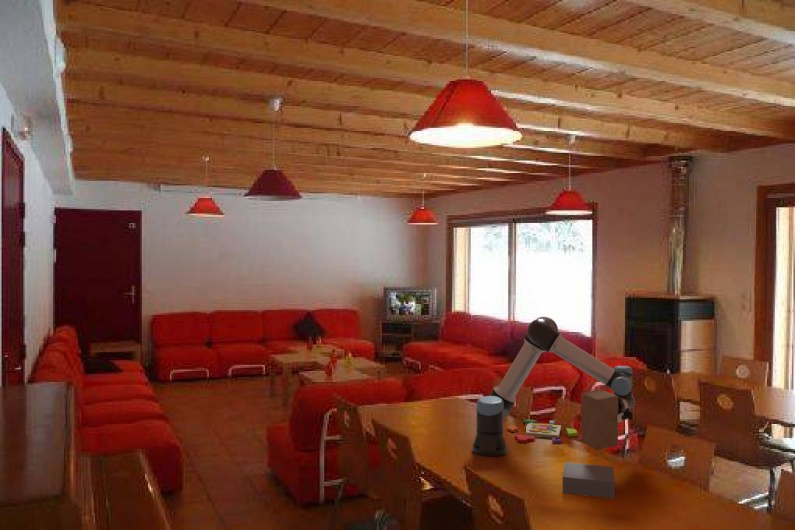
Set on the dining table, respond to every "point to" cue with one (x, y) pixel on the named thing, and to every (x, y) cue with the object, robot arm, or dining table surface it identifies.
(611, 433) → the wooden block
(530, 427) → the pattern blocks set
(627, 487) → the dining table surface
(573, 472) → the plinth
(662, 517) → the dining table surface
